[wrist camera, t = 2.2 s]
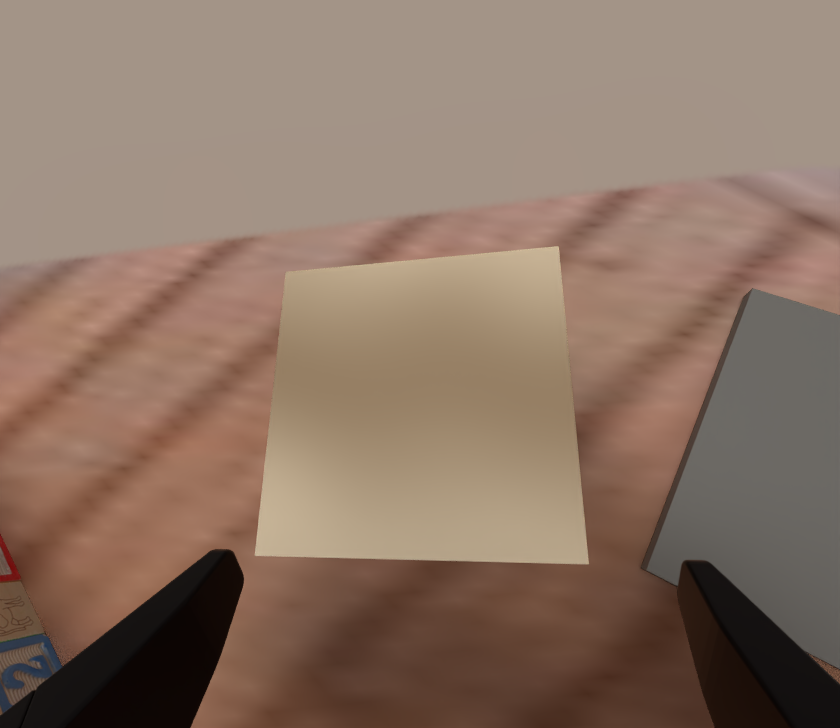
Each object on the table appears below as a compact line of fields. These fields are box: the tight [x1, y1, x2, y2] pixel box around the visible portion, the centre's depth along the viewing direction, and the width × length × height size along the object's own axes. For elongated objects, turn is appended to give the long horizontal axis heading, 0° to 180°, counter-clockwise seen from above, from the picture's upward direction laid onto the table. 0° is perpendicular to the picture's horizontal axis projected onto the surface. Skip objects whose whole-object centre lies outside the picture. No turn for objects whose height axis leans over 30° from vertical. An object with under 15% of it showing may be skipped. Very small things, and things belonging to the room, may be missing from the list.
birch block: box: [255, 246, 589, 564], centre depth 14 cm, size 5×5×13 cm
